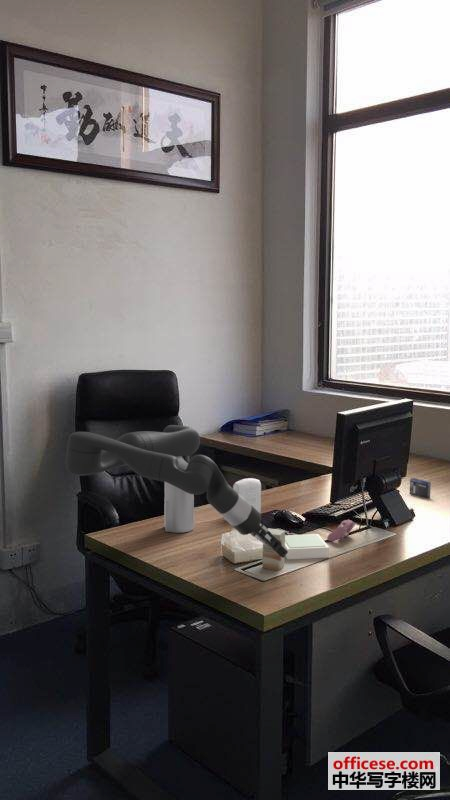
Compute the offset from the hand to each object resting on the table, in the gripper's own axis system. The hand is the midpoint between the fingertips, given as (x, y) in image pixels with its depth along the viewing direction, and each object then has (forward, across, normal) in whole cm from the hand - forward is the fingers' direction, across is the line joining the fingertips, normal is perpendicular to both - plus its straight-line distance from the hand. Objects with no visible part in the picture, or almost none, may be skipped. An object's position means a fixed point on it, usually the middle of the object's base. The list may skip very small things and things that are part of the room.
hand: (279, 550), depth 198 cm
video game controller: (+23, -14, +17) cm, 32 cm away
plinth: (+11, -8, +5) cm, 15 cm away
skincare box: (+2, 0, -4) cm, 5 cm away
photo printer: (+12, -48, +5) cm, 50 cm away
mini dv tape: (+61, -45, +54) cm, 93 cm away
